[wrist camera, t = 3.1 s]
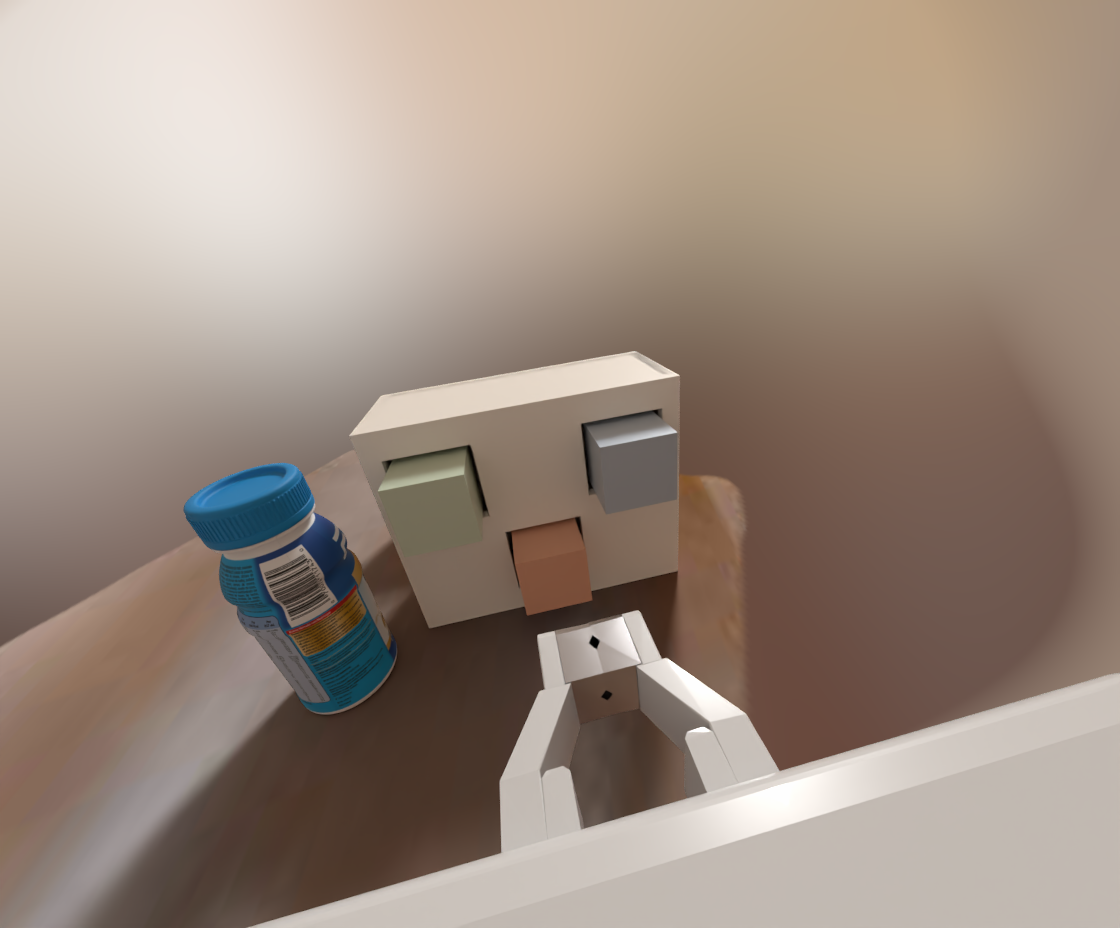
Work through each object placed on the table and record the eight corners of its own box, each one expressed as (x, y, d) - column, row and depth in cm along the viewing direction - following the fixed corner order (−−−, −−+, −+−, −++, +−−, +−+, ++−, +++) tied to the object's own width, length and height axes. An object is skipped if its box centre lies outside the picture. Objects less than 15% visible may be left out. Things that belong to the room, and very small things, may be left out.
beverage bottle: (280, 725, 32) (123, 530, 23) (330, 637, 40) (226, 463, 30) (381, 714, 32) (263, 512, 23) (412, 627, 39) (333, 449, 30)
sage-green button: (404, 557, 30) (377, 491, 27) (416, 514, 35) (394, 455, 33) (482, 540, 31) (463, 474, 28) (482, 500, 36) (466, 441, 33)
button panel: (429, 628, 39) (349, 435, 29) (439, 559, 48) (381, 395, 39) (677, 570, 42) (679, 375, 32) (642, 515, 51) (635, 351, 41)
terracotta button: (527, 615, 35) (514, 564, 32) (521, 570, 40) (510, 522, 38) (592, 600, 36) (585, 548, 33) (578, 557, 41) (571, 509, 38)
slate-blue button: (606, 514, 32) (599, 447, 29) (588, 479, 37) (581, 419, 34) (676, 499, 32) (677, 432, 29) (649, 466, 38) (648, 407, 35)
